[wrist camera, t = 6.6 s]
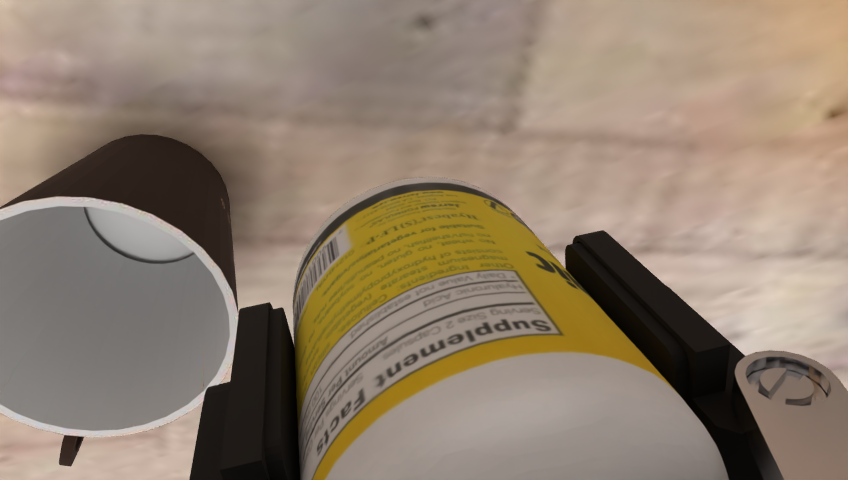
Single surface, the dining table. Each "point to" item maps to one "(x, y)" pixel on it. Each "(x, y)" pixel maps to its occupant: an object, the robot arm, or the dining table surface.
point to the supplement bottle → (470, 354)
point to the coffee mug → (116, 292)
